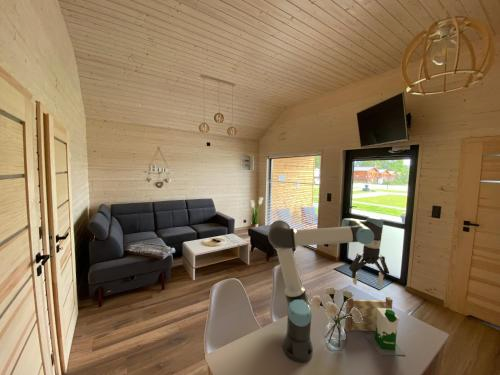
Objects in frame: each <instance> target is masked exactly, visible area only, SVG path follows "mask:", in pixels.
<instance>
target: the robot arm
mask: <svg viewBox="0 0 500 375" xmlns="http://www.w3.org/2000/svg"><path fill="white" fill-rule="evenodd" d="M340 225H341V226H336V227H334V226H333V227H323V228H310V229H309V228H308V229H295V228H294V227H293V228H291V227H290V225H289V224H288V222H287V221H285V220H283V219H277V220H274V221H273V222H272V223H271V225H270V226H269V230H268V234H267V237H268V238H267V239H268V241H269V243H270V244H271V246H272V248H273V249H275V250H276V254H277V258H278V263H279V264H280V268H281V272H282V273H281V274H282V276H283V281H284V285H285V289H284V296H285V300H286V303H287V306H286V307H287V322H286V323H287V324H286V334H285V335H284V337H283V341H282V350H283V353H284V355H286V357H287V358H289V359H290V360H292V361H294V362H298V363H305V362H308V361H310V360H311V359H312V358H313V354H314V347H313V344H312V343H313V342H312V340H311V329H312V328H311V326H312V318H313V317H312V316H313V315H312V314H313V313H312V308H311V306H310V305H309V300H308V299H309V298H308V295H307V293H306V288H305V287H304V285H302V284H301V279H300V275H299V271H298V268H297V264H296V260H295V257H294V252H293V249H297V248H298V247H300V246H301V247H302V246H315V245H317V246H318V245H328V244H330V245H331V244H346V243H347V244H348V243H349V244H350V243H359V244H362V245H363V249H362V252H363V253H362V254H360V253H359V252H358V253H356V256H355V258H354V260H353V261H352V262H351V264H350V266H349V267H348V269H349V271H351V277H352V283H353V284H354V286H357V285H358V284H357V282H358V276H359V274H358V272H359V271H360V270H361V268H363V267H364V266H365V265H367V264H368V265H370V264H372V265H375V266H376V268H378V270H379V272H378V278H377V279H378V280H377V285H379V287H381V288H382V287H383V281H385V278H386V276H387V275H389V274H390V271H389V268H388V266H387V262H386V257H385V256H384V255H382V254H380V253H381V252H380V251H381V243H382V236H383V230H384V229H383V228H384V219H383V218H381V217H377V216H372V215H371V216H367V217H366V219H365V220H364V219H357V218H343V219H342V220H341V224H340ZM378 260H379V261H380V263H381V264H380V263H379V262H378Z"/></svg>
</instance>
